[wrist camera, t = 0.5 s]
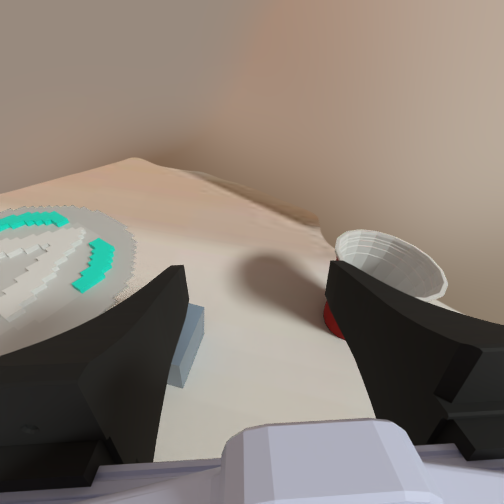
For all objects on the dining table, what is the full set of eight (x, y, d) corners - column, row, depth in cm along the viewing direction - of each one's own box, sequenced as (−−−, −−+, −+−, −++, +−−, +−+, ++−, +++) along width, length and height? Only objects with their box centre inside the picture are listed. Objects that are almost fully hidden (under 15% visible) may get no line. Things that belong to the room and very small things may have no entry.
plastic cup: (357, 285, 37) (401, 223, 29) (401, 353, 30) (476, 295, 22) (293, 290, 35) (320, 224, 27) (323, 366, 27) (374, 307, 19)
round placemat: (176, 257, 37) (175, 250, 36) (-86, 466, 18) (-104, 464, 17) (60, 192, 45) (57, 184, 44) (-208, 290, 26) (-226, 280, 25)
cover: (183, 388, 24) (179, 366, 20) (125, 372, 24) (111, 347, 20) (204, 333, 28) (204, 307, 25) (155, 320, 29) (148, 292, 25)
